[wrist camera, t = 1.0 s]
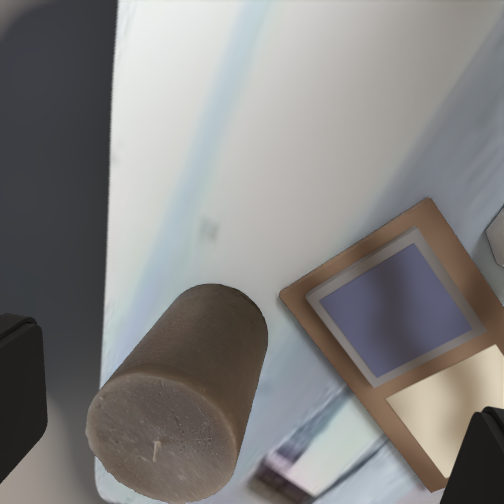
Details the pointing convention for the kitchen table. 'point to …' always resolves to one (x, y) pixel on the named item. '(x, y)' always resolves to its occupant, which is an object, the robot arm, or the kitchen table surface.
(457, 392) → the board
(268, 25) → the kitchen table surface
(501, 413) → the robot arm
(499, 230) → the flask
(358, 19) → the kitchen table surface
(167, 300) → the kitchen table surface
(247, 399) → the pillar candle
